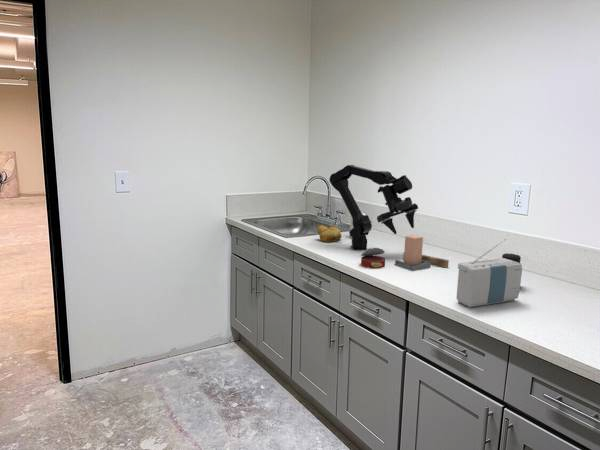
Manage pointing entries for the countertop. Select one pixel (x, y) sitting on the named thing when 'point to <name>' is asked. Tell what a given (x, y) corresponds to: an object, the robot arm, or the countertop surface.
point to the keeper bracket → (413, 267)
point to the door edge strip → (435, 261)
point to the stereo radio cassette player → (488, 281)
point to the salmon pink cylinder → (413, 249)
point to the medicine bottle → (512, 257)
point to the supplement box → (352, 223)
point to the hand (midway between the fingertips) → (404, 231)
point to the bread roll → (329, 233)
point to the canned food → (373, 258)
